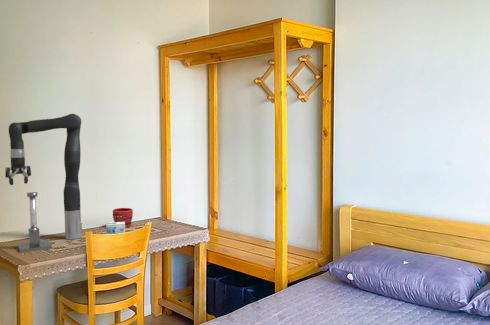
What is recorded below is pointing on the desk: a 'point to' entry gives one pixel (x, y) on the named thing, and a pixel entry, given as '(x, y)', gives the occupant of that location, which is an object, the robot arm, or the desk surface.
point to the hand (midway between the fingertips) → (18, 184)
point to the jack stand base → (34, 242)
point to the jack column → (32, 209)
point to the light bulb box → (115, 227)
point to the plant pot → (123, 216)
